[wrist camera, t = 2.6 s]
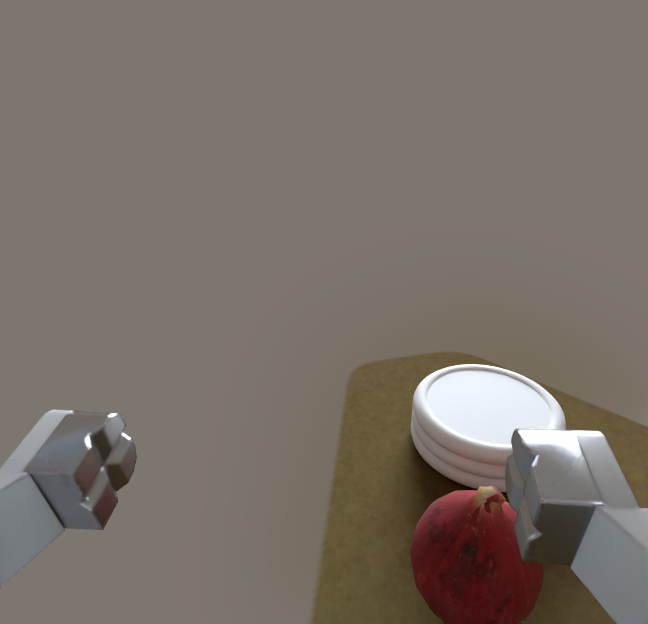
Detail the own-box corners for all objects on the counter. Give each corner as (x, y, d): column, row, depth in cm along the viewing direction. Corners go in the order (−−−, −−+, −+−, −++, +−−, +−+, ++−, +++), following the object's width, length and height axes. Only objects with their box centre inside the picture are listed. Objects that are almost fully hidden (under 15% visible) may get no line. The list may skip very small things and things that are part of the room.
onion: (499, 703, 20) (533, 586, 17) (384, 616, 24) (391, 502, 20) (543, 597, 24) (578, 483, 21) (439, 535, 28) (454, 428, 24)
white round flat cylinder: (519, 525, 28) (530, 481, 27) (382, 444, 34) (384, 405, 33) (577, 436, 35) (589, 397, 33) (453, 382, 41) (458, 347, 39)
